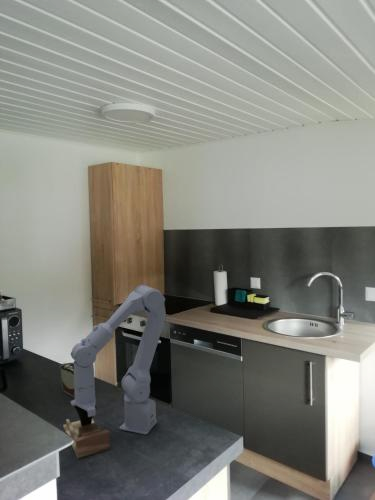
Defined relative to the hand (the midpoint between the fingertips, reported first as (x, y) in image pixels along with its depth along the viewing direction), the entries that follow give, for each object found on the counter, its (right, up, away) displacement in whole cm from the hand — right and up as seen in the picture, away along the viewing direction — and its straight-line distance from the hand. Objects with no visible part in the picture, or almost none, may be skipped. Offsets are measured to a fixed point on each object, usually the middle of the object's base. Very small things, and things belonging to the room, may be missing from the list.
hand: (86, 429), depth 112 cm
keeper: (+2, -3, -3) cm, 4 cm away
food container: (-12, -1, +32) cm, 35 cm away
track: (-1, -3, +2) cm, 4 cm away
